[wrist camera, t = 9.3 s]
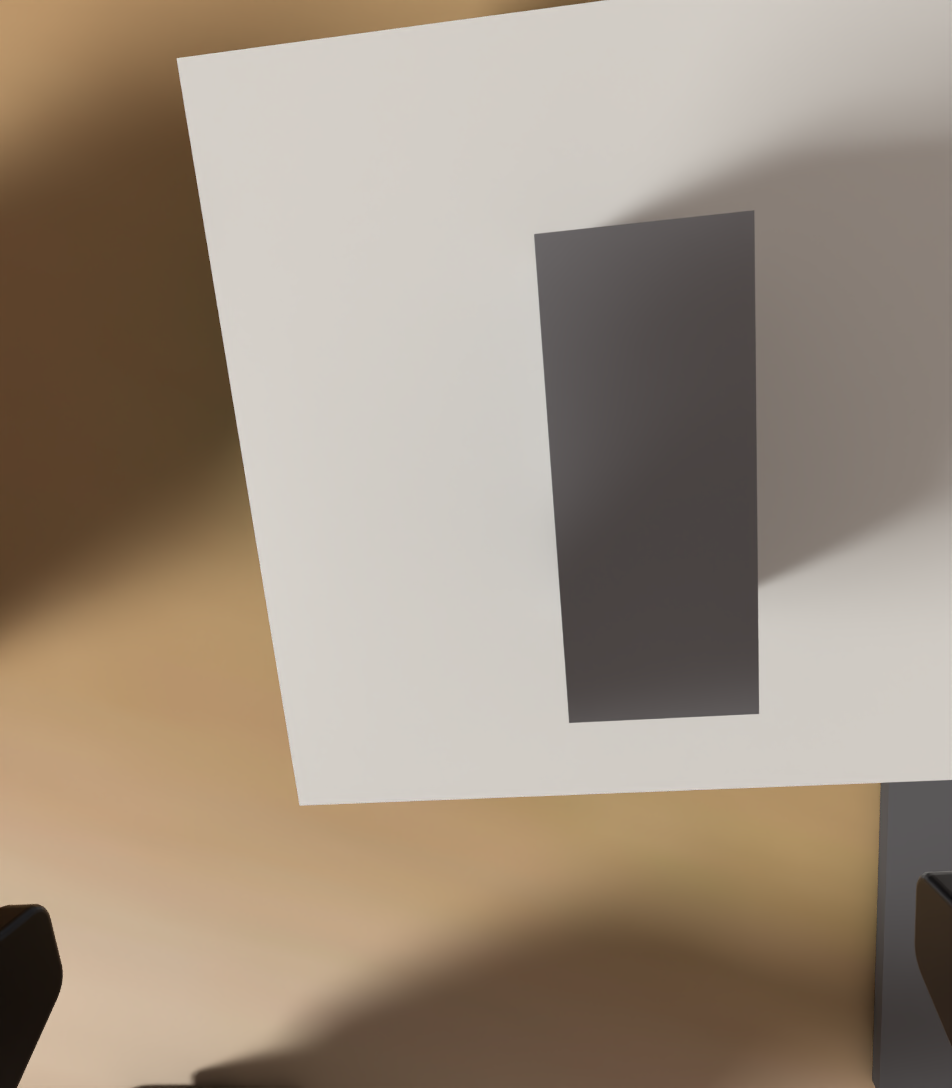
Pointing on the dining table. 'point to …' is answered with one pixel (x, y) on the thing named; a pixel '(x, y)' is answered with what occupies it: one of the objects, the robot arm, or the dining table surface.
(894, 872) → the mat
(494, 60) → the lid
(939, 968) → the robot arm
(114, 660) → the dining table surface
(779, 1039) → the dining table surface
